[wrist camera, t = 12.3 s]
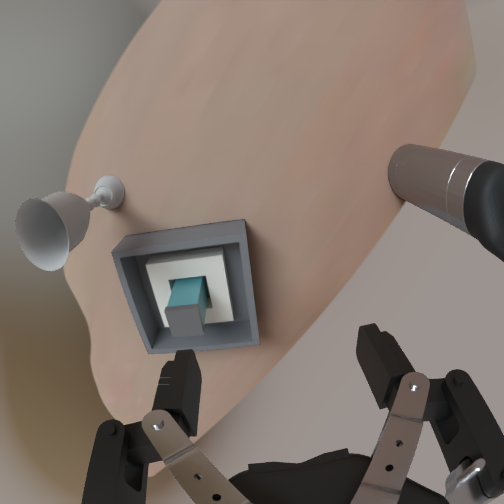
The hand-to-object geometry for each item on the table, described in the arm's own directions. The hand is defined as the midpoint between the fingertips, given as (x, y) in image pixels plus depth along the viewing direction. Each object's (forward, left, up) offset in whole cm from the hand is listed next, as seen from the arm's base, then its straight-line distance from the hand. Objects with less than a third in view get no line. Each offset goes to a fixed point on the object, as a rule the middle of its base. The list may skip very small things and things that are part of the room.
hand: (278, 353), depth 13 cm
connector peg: (+10, +11, -29) cm, 32 cm away
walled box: (+10, +11, -29) cm, 33 cm away
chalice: (+20, -5, -29) cm, 36 cm away
